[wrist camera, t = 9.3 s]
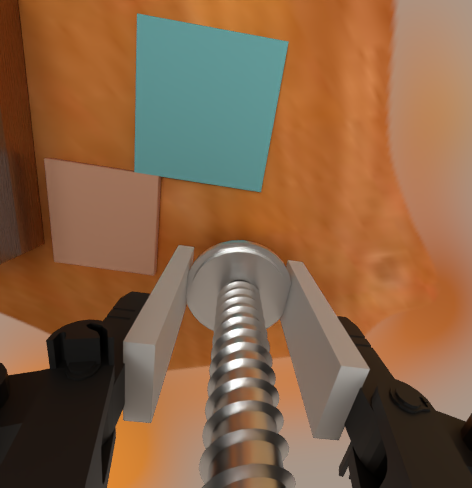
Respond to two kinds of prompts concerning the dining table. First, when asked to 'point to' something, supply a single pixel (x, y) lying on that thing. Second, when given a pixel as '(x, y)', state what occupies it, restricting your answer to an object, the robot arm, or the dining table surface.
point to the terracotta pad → (103, 216)
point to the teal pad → (205, 102)
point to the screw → (241, 364)
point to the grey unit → (16, 145)
